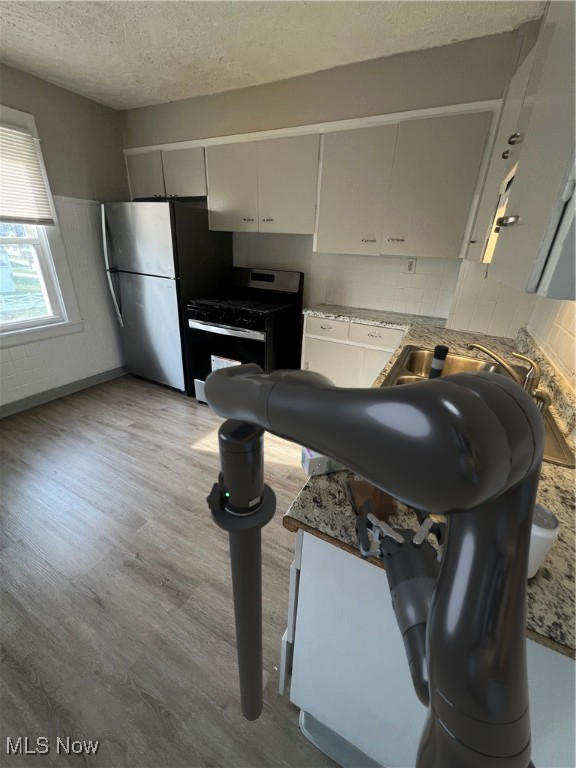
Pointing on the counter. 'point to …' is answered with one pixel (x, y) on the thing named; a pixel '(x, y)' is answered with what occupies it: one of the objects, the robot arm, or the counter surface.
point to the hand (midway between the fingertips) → (392, 503)
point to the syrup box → (317, 463)
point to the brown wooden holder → (380, 499)
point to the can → (541, 537)
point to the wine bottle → (438, 361)
